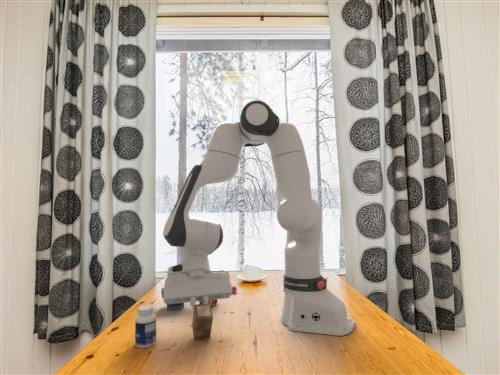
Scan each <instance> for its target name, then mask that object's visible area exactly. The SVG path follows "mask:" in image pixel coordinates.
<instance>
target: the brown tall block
mask: <svg viewBox="0 0 500 375" xmlns="http://www.w3.org/2000/svg"><path fill="white" fill-rule="evenodd" d="M192 312H193V314H192V323H191V328H192V336H193V337H192V338H193V341H197V340H203V339H210V338H211V334H212V329H213V328H212V327H213V320H214V315H213V310H212V306H211V303H210V304H200V303H199V304H196V305H194V309H193V311H192Z"/></svg>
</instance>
